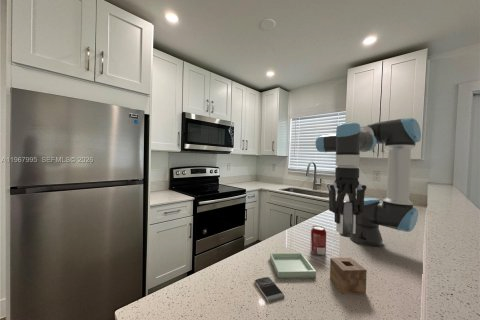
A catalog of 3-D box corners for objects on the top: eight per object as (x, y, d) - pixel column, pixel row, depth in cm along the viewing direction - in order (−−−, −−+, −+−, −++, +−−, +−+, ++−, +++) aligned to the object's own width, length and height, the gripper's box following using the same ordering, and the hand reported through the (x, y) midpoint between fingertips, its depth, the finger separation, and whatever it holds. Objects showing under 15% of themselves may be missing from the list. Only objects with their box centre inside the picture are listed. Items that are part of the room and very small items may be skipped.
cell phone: (268, 279, 71) (268, 275, 71) (285, 300, 61) (285, 296, 61) (253, 283, 69) (253, 279, 69) (268, 305, 59) (268, 300, 59)
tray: (301, 258, 86) (301, 252, 86) (315, 277, 72) (316, 271, 72) (270, 258, 86) (270, 253, 86) (278, 278, 71) (278, 271, 71)
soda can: (327, 257, 88) (327, 230, 88) (311, 255, 89) (312, 229, 89) (324, 250, 95) (324, 225, 94) (309, 248, 96) (309, 224, 96)
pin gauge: (347, 232, 72) (348, 200, 72) (354, 237, 68) (355, 203, 68) (337, 233, 71) (337, 200, 71) (343, 237, 67) (344, 203, 67)
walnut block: (350, 279, 72) (351, 257, 72) (365, 294, 64) (366, 270, 64) (329, 279, 72) (330, 257, 72) (342, 294, 64) (343, 270, 64)
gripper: (362, 166, 74) (361, 228, 74) (319, 166, 73) (317, 228, 73) (377, 167, 66) (376, 236, 66) (329, 167, 65) (328, 236, 65)
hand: (345, 231), depth 70 cm, fingers closed on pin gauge, 4 cm apart
